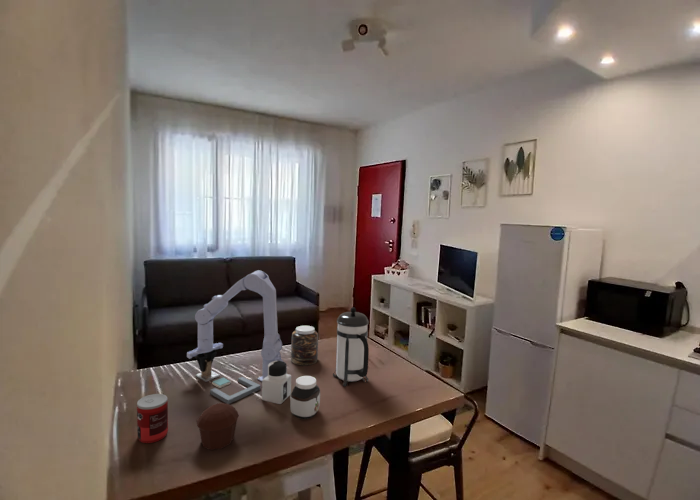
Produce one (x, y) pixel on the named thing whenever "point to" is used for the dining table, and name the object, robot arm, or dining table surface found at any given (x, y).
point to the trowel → (207, 372)
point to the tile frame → (229, 399)
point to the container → (276, 383)
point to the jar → (304, 345)
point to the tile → (221, 382)
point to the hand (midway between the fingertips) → (205, 369)
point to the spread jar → (305, 398)
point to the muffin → (217, 425)
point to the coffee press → (352, 347)
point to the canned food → (152, 418)
